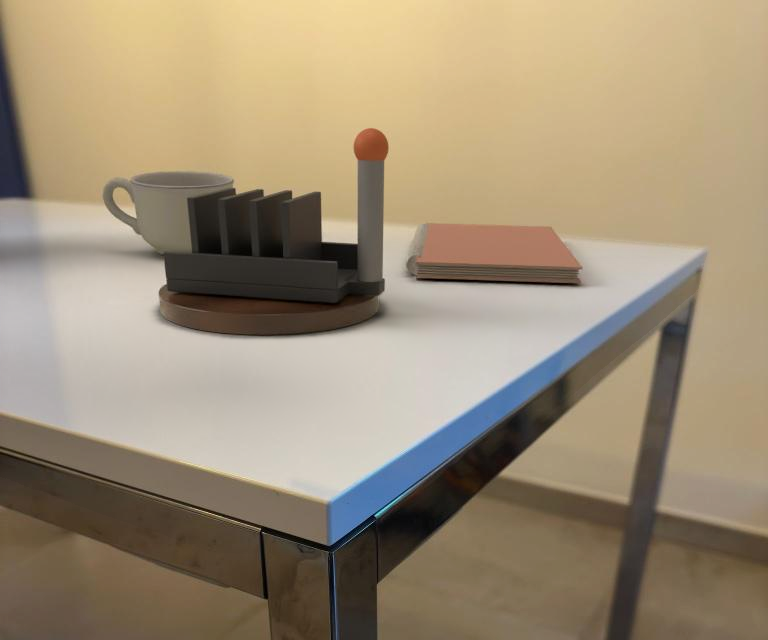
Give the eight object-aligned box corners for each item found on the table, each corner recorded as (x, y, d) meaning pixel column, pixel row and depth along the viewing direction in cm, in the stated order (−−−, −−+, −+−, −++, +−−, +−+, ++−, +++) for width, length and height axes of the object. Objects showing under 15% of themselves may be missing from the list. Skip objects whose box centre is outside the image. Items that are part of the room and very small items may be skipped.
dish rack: (167, 291, 62) (148, 124, 56) (214, 270, 70) (202, 122, 64) (372, 306, 59) (373, 130, 53) (397, 282, 66) (401, 127, 61)
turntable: (112, 311, 63) (110, 292, 62) (261, 276, 76) (260, 260, 76) (285, 348, 54) (284, 327, 54) (418, 301, 68) (419, 284, 67)
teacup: (251, 247, 91) (247, 172, 87) (218, 264, 81) (211, 181, 77) (139, 242, 93) (130, 168, 89) (93, 258, 83) (81, 176, 79)
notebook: (416, 236, 100) (416, 220, 99) (549, 241, 99) (551, 224, 98) (404, 279, 76) (405, 258, 75) (579, 285, 75) (582, 264, 74)
